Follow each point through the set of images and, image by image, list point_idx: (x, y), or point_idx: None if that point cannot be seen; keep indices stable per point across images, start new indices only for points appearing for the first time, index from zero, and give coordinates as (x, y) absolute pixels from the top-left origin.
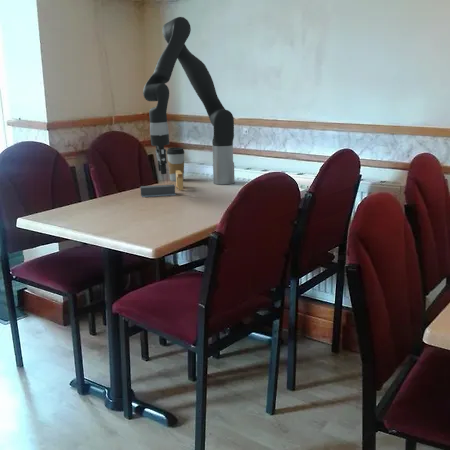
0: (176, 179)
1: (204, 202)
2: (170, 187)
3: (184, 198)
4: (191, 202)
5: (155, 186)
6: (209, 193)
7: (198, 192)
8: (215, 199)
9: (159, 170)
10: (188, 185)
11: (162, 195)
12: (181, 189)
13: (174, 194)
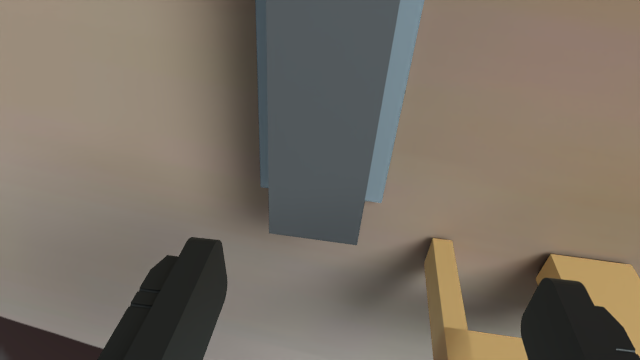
0: (615, 316)
1: (14, 259)
2: (270, 194)
3: (132, 202)
4: (4, 207)
5: (317, 62)
6: (262, 334)
7: (312, 306)
8: (96, 312)
9: (544, 284)
10: None
11: (259, 81)
12: (427, 258)
13: (260, 177)
